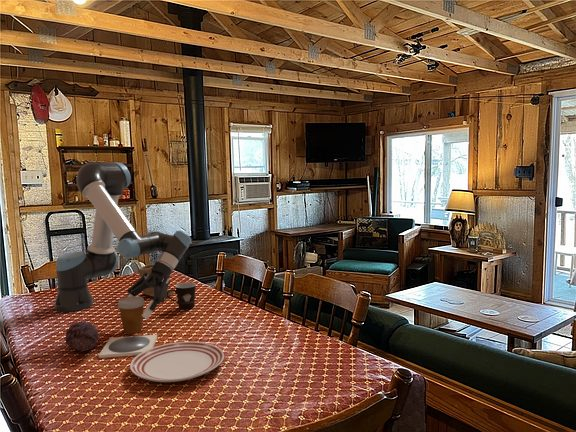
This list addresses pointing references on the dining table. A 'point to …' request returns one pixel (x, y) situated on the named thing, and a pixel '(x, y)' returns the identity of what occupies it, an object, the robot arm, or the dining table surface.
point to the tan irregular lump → (148, 290)
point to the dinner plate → (176, 361)
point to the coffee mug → (185, 295)
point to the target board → (127, 346)
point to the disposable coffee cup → (131, 314)
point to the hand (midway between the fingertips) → (133, 314)
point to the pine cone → (82, 336)
